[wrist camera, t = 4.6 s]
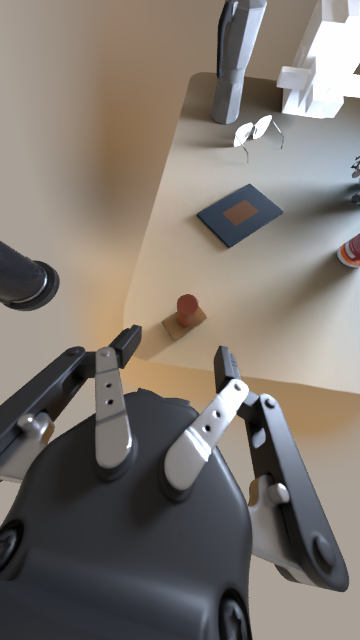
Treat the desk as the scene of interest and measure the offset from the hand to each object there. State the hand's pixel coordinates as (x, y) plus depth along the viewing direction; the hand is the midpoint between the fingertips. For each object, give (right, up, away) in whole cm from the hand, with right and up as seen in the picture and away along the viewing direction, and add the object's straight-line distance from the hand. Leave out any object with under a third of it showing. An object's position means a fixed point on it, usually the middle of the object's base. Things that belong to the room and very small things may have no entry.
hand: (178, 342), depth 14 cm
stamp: (+1, +1, +13) cm, 13 cm away
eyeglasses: (+23, +53, +27) cm, 64 cm away
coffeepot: (+14, +69, +31) cm, 77 cm away
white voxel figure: (+42, +71, +32) cm, 89 cm away
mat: (+15, +28, +20) cm, 38 cm away
